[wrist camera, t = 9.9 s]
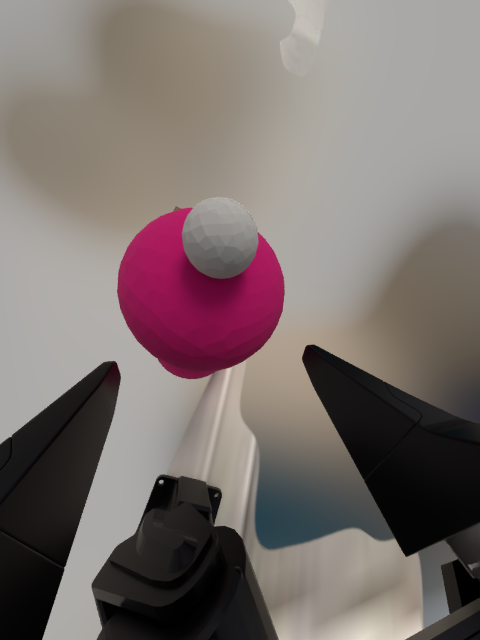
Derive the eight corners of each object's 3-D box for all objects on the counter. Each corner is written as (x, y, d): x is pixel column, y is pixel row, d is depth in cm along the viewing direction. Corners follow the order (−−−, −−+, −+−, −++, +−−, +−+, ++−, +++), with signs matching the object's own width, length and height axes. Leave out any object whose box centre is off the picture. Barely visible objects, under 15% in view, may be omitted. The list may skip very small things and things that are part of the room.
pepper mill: (235, 339, 24) (411, 222, 5) (198, 391, 21) (285, 520, 3) (188, 302, 24) (196, 38, 5) (144, 351, 21) (-185, 190, 2)
